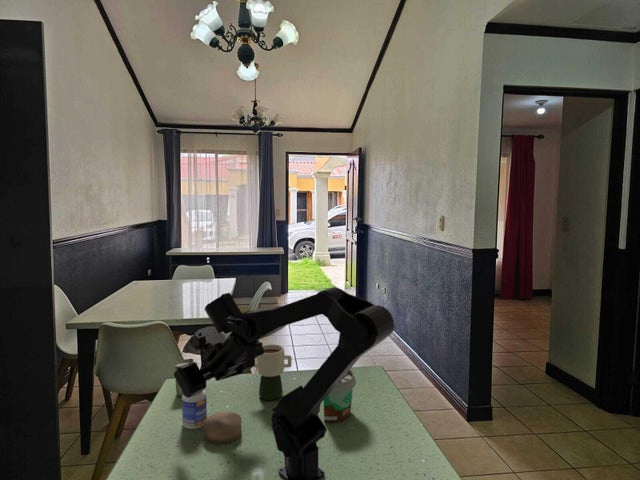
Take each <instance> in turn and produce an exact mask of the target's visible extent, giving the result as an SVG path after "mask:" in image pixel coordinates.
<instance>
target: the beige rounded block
mask: <svg viewBox="0 0 640 480" xmlns="http://www.w3.org/2000/svg"><path fill="white" fill-rule="evenodd" d="M193 362H195V363H196V364H197V365H198V362H197V361H193ZM187 363H188V362H186V363H177V364H176V365H175V370H176V369H177V368H178V367H179V366H182V365H184V364H187ZM175 391H176V392H175V393H176V396H177V397H182V395H183V394H182V389H181V388H180V386H179V384H178V382H177V380H176V379H175Z"/></svg>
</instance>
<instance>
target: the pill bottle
mask: <svg viewBox="0 0 640 480" xmlns="http://www.w3.org/2000/svg"><path fill="white" fill-rule="evenodd" d="M181 408H182V409H181V411H182V425H183V427H184V428H185V429H187V430H196V429H199V428H202V427H204V421H205V420H206V418H207V417H208V413H207V412H208V408H207V392H206V390H205V389H204V390H203V391H202V392H201V393H198V394H196V395H194V396H192V397H189V398H188V397H185V396H183V395H182V396H181Z"/></svg>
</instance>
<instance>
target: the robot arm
mask: <svg viewBox="0 0 640 480" xmlns="http://www.w3.org/2000/svg"><path fill="white" fill-rule="evenodd" d="M204 311H205V312H206V315H207V316H208V318H209V320H210V321H211V323H212V325H213V326H212V325H211V326H206V327H204V328H200V329H198V330H197V331H195V332H194V334H193V335H191V337H190V339H189V340H190V341H189V344H190V345H189V346H191V347H192V348H193V349H194V350H195V351H202V352H203V353H204V354H203V355H202V359H203V360H204V362H207V363H206V364H207V367H205V368H203V369H200V367H199V366H198V363H197V364H196V363H195V362H196V361H195V362H194V361H189V362H186V363H187V364H184V363H183V364H184V365H182V366H179V367H178V368H177V369H175V370H174V372H173V376H174V378H175V381H176V380H177V382H178V384H179V386H180V388H181V389H182V394H183V396H185V397H188V398H189V397H192V396H194V395H196V394H198V393H201V392H202V391H203V390H205V389H206V388H207V381H209V380H212V379H215V381H217V382H218V381H222V380H226V379H228V378H233V377H235V376H238V375H241V374H243V373H246V372H247V371H249V370H251V369H252V368H254V367H253V366H254V365H255V364H256V359H255V358H256V357H258V356H260V355H262V354H264V348H263V346H262V345H264V344H263V342H260V340H261V339H264V338H266V337H269V336H271V335H273V334H276V333H277V332H278V331H281V330H282V329H284V328H285V327H286V326H288V325H292V324H294V323H295V324H296V323H299V322H301V321H304V320H307V319H311V318H314V317H317V316H319V315H320V316H321V315H323V316H324V317H326V319H328V321H329V322H330V325H332V327H333V329H335V331H337V332H339V335H338V336H339V337H338V341H337V342H338V343H337V346H336V347H335V348H334V350H333V351H332V352H331V353H330V355H329V356H328V357H327V358H326V359H325V360H324V362H323V363H322V365H321V366H320V367H319V368H318V369H317V370H316V372H314V374H313V375H312V376H311V378H310V379H309V380H308V382H307V383H306V384H304V386H303V385H302V384H301V385H299V386H297V387H296V388H295V389H293V390H291V391H290V392H288V393H286V394H285V395H283V396H281V398H280V400H279V401H278V403H277V404H276V406H274V407H273V408H271V411H272V412H273V413H272V414H271V416H270V422H271V429H272V432H273V437H274V439H275V440H274V441H275V444H276V448H277V450H278V451H279V452H282V454H283V457H284V467H281V468H279V469H278V474H279V475H280V476H281V477H282V478H284V479H285V480H319V479H321V478H323V477H325V473H326V472H325V471H324V470H322V469H321V468H320V467H319V446H317V445H318V444H317V443H318V442H319V441H320V440H321V439H324V437H325V435H326V432H327V427H326V425H325V423H324V421H322V419H321V418H320V416H319V413H320V410H321V405H322V402H324V399H325V398H326V397H327V395H328V394H329V393H330V392H331V391H332V390H333V388H334V387H335V386H336V385H337V384H338V383H339V381H340V380H341V379H342V378H343V377H344V376H345V374H346V373H347V372H348V371H349V370H350V369H351V370H352V368H353V367H354V365H355V364H356V363H357V362H358V361H359V359H360V358H361V357H362V356H363V355H365V354H367V353H368V352H369V351H370V350H372V349H373V348H375V347H377V346H378V345H379V344H380V343H382V342H383V341H384V340H386V339H387V338H388V337H390V336H391V335H392V334H393V332H394V330H395V322H394V318H393V315H392V314H391V312H390V310H389V309H387V308H386V307H385V306H382V305H379V304H377V305H375V304H374V303H372V302H371V301H369V300H367V299H365V298H362V297H359V296H356V295H354V294H350V293H348V292H346V291H344V290H343V289H341V288H339V287H336V286H335V287H329V288H326V289H323V290H320V291H318V292H317V293H316V294H313V295H309V296H307V297H305V298H302V299H299V300H295V301H293V302H290V303H288V304H287V303H286V304H284V305H270V306H263V307H260V308H258V309H257V308H256V309H254V310H248V311H247V310H246V311H244V312H242V311H241V309H240V308H239V307H238V305H237V303H236V302H235V300H234V297H233V295H232V294H231V292H226V293H222V294H221V295H220V296H219V297H217V298H215V299H213V300H212V301H211V302H210V303H207V304H206V305H205V306H204ZM222 332H223V333H224V334H225V335H226V334H229V335H227V336H226V337H225V335H224V334H223V333H222Z"/></svg>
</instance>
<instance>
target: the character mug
mask: <svg viewBox="0 0 640 480" xmlns="http://www.w3.org/2000/svg"><path fill="white" fill-rule="evenodd" d="M262 346H263V348H264V354H262V355H260V356H258V357H256V358H255V360H256V363H255V365H254V366H253V367H252V368H257V369H256V370H257V374H259V375H260V380H259V381H260V382H259V387H258V388H259V390H258V395H259V397H261V398H262V399H265V400H270V401H271V400H272V401H273V400H275V399H279V398H280V397H282V395H283V394H284V389H283V383H282V378H281V375H282V374H283V372H284V370H285V368H291V367H292V356H291V355H288V354H285V348H284V346H283V345H280V344H276V343H275V344H274V343H268V344H263V345H262ZM285 359H287V363H285Z"/></svg>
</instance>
